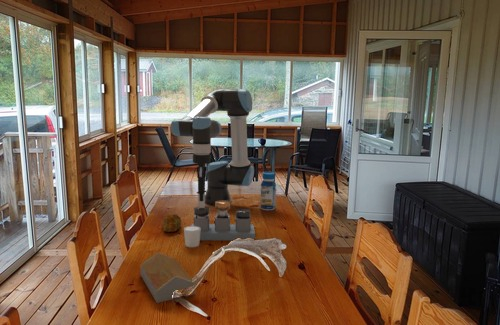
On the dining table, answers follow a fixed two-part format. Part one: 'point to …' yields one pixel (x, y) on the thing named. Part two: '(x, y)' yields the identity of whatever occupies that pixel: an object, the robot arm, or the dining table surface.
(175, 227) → the rock
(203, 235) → the mount
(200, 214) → the knob
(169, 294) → the house model
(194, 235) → the white candle
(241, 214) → the knob
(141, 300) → the dining table surface
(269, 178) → the beverage bottle
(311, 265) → the dining table surface
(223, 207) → the knob mid
